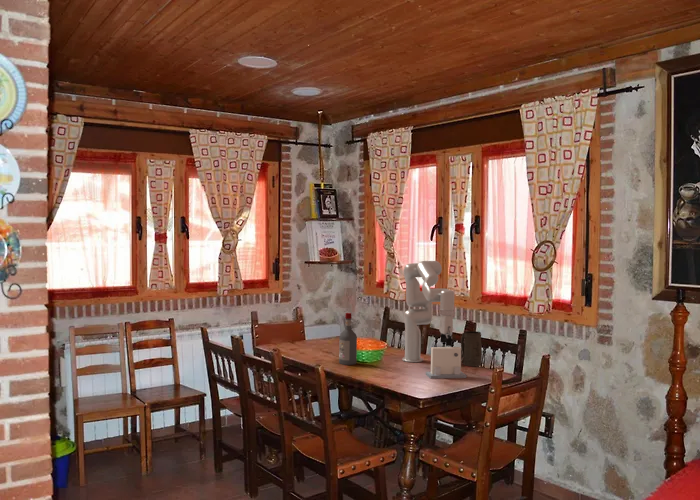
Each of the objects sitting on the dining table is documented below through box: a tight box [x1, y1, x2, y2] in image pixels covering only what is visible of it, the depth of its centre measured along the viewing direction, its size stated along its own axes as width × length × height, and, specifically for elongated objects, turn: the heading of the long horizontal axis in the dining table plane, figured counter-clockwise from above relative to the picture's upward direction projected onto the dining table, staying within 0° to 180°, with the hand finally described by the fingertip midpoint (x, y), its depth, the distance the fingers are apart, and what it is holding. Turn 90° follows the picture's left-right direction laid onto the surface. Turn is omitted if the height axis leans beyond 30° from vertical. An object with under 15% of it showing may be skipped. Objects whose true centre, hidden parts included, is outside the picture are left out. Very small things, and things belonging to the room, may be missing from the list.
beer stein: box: [460, 330, 483, 367], centre depth 364 cm, size 15×11×20 cm
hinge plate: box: [425, 367, 467, 379], centre depth 330 cm, size 10×20×6 cm, turn 98°
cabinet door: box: [430, 346, 462, 374], centre depth 329 cm, size 4×16×14 cm, turn 98°
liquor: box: [338, 312, 358, 366], centre depth 360 cm, size 9×9×30 cm
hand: (446, 344), depth 330 cm, fingers open, 9 cm apart
